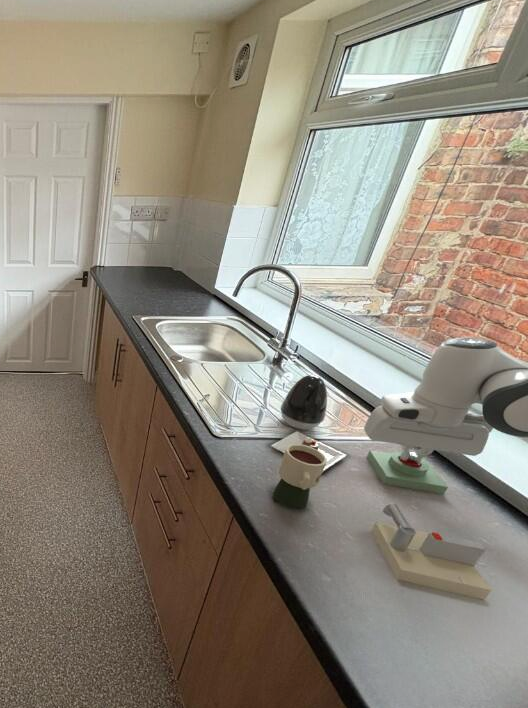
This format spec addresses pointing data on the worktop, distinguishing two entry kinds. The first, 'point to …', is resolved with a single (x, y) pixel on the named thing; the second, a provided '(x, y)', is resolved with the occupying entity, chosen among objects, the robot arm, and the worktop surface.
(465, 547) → the tap handle
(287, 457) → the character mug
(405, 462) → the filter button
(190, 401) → the worktop surface
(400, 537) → the spout
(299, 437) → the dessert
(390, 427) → the robot arm
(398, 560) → the tap block
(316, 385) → the black egg shaped dome
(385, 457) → the green button base
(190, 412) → the worktop surface
